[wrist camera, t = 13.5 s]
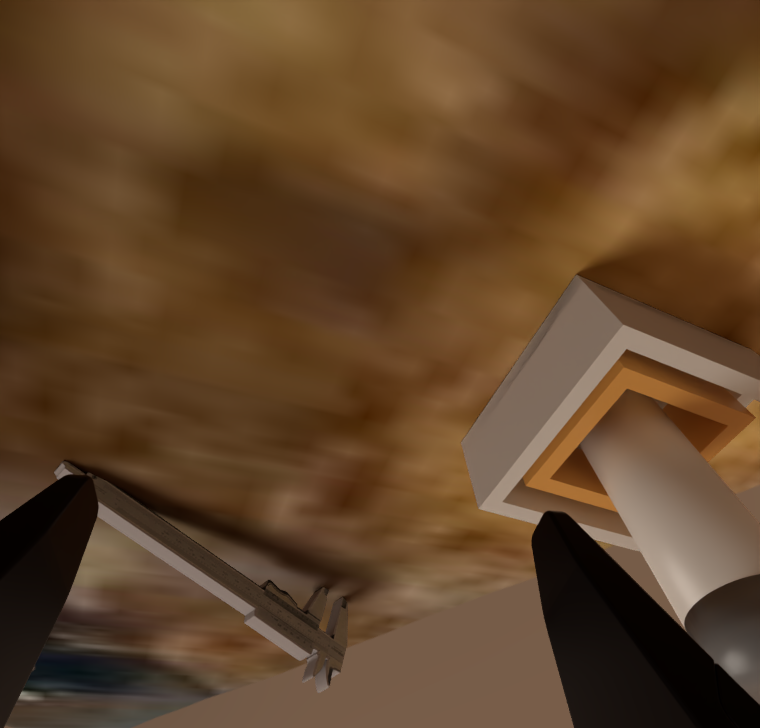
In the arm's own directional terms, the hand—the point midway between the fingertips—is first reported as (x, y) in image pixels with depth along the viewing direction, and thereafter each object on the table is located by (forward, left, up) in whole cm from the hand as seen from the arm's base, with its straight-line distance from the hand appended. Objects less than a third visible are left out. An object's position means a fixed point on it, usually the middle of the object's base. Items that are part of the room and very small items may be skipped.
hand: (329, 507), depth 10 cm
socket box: (+15, -2, -13) cm, 20 cm away
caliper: (0, -20, -14) cm, 24 cm away
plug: (+15, -2, -12) cm, 19 cm away
